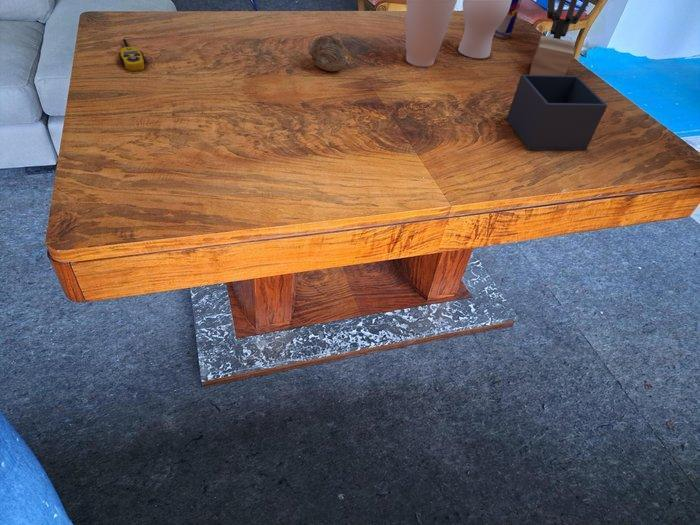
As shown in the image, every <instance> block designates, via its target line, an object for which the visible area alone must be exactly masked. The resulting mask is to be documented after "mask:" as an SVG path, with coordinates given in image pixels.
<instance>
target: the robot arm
mask: <svg viewBox="0 0 700 525" xmlns="http://www.w3.org/2000/svg"><path fill="white" fill-rule="evenodd" d="M566 1H567V0H559V1H558V5H557V9H555V7H556V0H547V9H546V10H547V11H546V12H547V13H546V17H547V19H548V20H551V21H552V25H551V27H550V32H549V33H550V35H553V37H552V38H557V39H562V37H563V38H565V37H566V36H567V34H568V31H569V28H570V25H577V24H578V22H579V20H580V19H581V17H582V15H584V14H583V13H584V12H585V11H586V8H587V7H588V5H589V3H590V2H591V0H583V2H582V3H581V5H580V7H579V8H578V10H577V12H576V13H575V15H574V12H575V9H576V6H577V2H578V0H570V2H569V5H568V9H567V12H566V15H565V18H561V17H562V14H563V11H564V7H565V5H566ZM555 10H556V11H555Z"/></svg>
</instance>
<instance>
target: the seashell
mask: <svg viewBox="0 0 700 525" xmlns="http://www.w3.org/2000/svg"><path fill="white" fill-rule="evenodd" d="M307 50H308V53H309V55H310V56H311V62H312V63H313V64H314V65H315V66H316V67H317V68H318V69H321V70H323V71H328V72H338V71H340V70H342V69H343V68H344V67H345V65H346V63H347V58H346V55H345V52H344V48H343V44H342V43H341V41H339V39H337V38H335V37H333V36H332V35H326V36H325V35H324V36H320V37H318V38H317V39H315V40H314V41H313V42H312V43H311V44H309V45H308V46H307Z"/></svg>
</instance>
